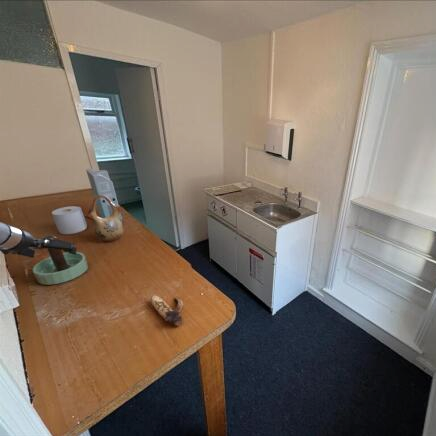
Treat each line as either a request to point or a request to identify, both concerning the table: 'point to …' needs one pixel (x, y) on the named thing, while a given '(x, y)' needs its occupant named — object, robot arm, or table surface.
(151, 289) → the table surface
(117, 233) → the ceramic vessel
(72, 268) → the bowl
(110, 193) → the device
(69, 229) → the toilet paper roll
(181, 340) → the table surface
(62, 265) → the pestle
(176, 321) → the bone fish hook
